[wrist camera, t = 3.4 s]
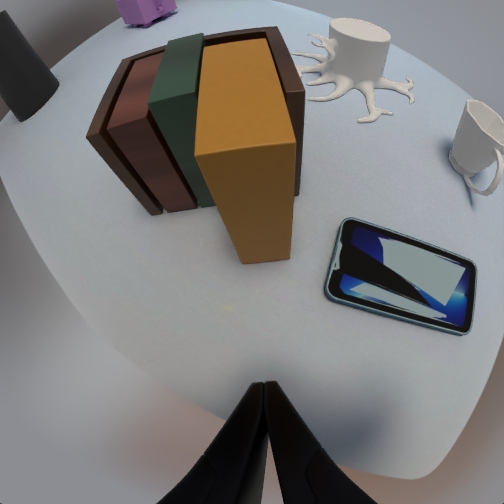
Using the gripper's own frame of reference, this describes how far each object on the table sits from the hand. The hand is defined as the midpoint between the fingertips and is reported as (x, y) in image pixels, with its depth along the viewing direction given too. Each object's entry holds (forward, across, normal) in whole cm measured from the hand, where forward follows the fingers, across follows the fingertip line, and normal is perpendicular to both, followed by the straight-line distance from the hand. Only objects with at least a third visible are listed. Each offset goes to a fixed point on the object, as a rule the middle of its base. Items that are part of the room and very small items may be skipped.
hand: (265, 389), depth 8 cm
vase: (+48, -49, +31) cm, 75 cm away
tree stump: (+33, +16, +16) cm, 40 cm away
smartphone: (+12, +13, -5) cm, 18 cm away
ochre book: (+18, 0, +1) cm, 18 cm away
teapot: (+66, -23, +49) cm, 85 cm away
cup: (+20, +25, +3) cm, 33 cm away
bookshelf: (+23, -3, +6) cm, 24 cm away
